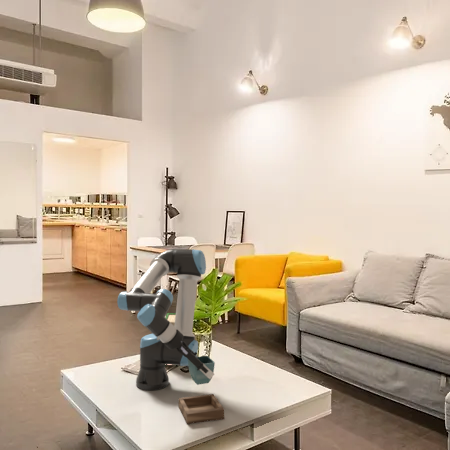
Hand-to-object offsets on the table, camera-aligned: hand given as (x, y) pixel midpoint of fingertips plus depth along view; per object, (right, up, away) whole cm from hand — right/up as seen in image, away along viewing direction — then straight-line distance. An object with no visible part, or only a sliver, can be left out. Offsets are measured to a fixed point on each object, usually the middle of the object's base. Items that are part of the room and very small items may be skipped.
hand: (208, 372), depth 181 cm
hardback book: (-22, -14, +60) cm, 65 cm away
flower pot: (-3, -4, -1) cm, 5 cm away
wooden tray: (-3, -17, 0) cm, 17 cm away
